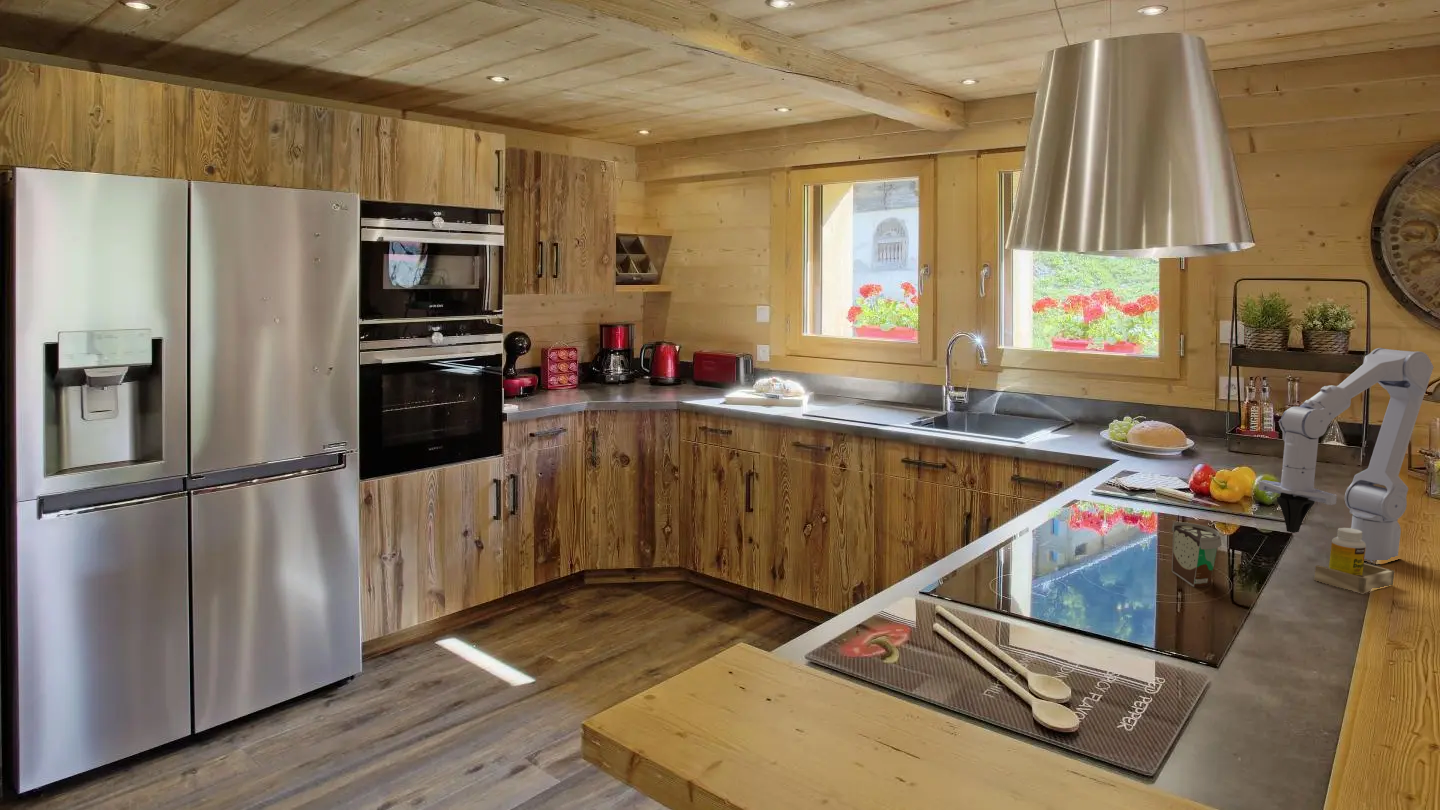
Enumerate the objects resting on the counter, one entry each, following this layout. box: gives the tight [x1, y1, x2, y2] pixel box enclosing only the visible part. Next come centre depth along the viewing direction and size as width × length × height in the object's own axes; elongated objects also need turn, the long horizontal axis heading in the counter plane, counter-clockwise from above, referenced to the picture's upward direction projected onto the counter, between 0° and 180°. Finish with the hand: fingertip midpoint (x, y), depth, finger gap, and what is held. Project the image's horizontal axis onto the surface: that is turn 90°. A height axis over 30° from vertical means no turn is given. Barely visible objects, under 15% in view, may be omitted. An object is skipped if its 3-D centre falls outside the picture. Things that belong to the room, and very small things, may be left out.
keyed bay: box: [1313, 562, 1395, 593], centre depth 183 cm, size 11×9×3 cm
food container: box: [1171, 521, 1222, 588], centre depth 184 cm, size 12×6×10 cm, turn 179°
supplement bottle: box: [1328, 527, 1366, 575], centre depth 184 cm, size 6×6×10 cm
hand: (1292, 531), depth 193 cm, fingers closed
